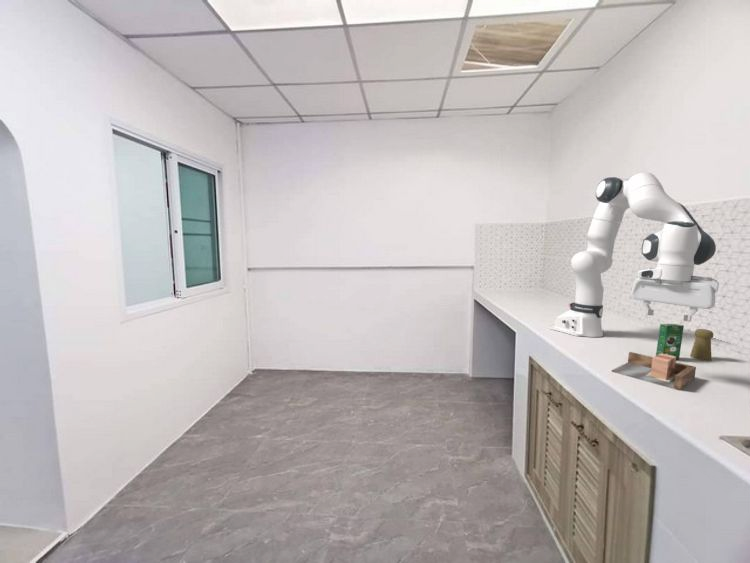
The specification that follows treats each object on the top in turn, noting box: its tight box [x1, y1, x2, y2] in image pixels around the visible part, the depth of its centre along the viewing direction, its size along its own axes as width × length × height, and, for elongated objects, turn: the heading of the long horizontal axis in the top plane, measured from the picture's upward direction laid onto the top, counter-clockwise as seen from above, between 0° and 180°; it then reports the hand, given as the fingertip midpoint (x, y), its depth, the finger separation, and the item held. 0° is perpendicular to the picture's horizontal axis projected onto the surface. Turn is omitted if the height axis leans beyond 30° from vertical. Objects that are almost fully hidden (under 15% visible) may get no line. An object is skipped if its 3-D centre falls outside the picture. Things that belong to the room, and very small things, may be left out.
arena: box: [611, 351, 697, 391], centre depth 115 cm, size 18×16×4 cm
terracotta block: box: [650, 353, 677, 380], centre depth 113 cm, size 8×4×6 cm, turn 126°
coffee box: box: [655, 323, 685, 360], centre depth 132 cm, size 8×3×13 cm, turn 101°
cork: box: [689, 328, 714, 362], centre depth 133 cm, size 6×6×11 cm
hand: (667, 317), depth 111 cm, fingers open, 8 cm apart
